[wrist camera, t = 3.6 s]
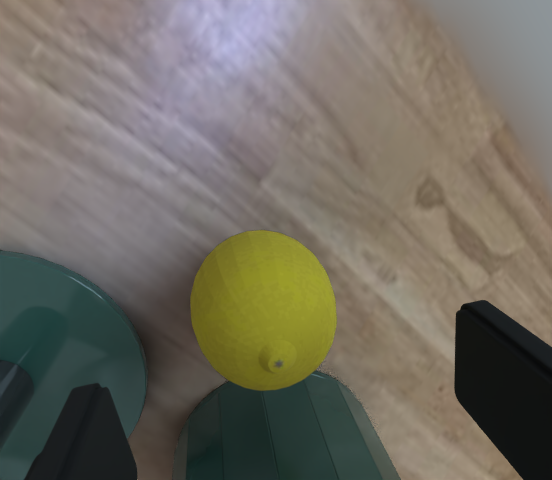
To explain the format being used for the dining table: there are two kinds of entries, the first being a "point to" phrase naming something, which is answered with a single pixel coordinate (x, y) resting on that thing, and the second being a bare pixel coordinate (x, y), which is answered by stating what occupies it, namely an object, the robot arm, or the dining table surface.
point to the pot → (281, 435)
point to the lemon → (263, 310)
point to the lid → (58, 354)
